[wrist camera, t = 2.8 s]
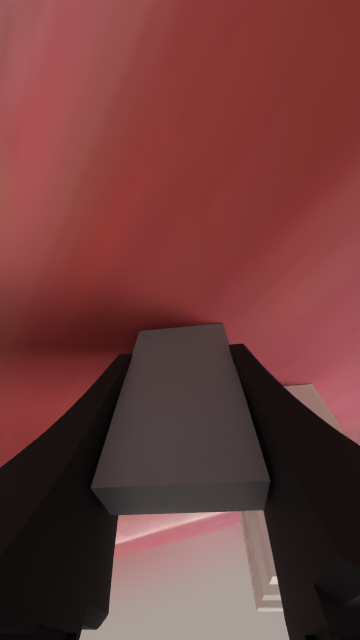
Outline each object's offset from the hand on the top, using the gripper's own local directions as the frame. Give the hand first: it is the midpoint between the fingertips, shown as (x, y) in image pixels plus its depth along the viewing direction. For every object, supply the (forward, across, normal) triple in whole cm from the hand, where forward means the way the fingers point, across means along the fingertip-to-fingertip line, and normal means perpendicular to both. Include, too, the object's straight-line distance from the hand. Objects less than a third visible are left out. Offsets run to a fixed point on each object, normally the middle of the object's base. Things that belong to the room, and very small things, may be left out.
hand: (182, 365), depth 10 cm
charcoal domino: (+2, 0, 0) cm, 2 cm away
